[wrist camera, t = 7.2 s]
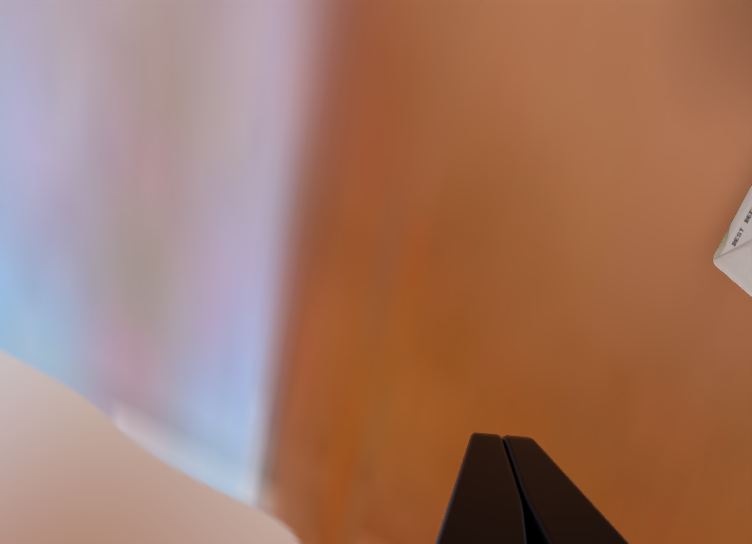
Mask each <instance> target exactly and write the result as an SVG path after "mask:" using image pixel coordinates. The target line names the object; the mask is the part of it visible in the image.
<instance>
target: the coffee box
mask: <svg viewBox="0 0 752 544" xmlns="http://www.w3.org/2000/svg"><path fill="white" fill-rule="evenodd" d="M713 258H714V264H715V265H716V266H717V267H718V268H719V269H720V270H721V271H723V272H724V273H725V274H726V275H727V276H728V277H729V278H731V279H732V280H733V281H734V282H735V283H737V284H738V285H739V286H740V287H741V288H742V289H743V290H745V291H746V292H747V293H748V294H749V295H750V296H752V186H751V188H750V190H749V191H748V193H747V195H746V197H745V199H744V201H743V203H742V204H741V206H740V208H739V210H738V212H737V214H736V216H735V217H734V219H733V221H732V223H731V225H730V227H729V229H728V230H727V232H726V234H725V236H724V238H723V239H722V241H721V243H720V245H719V246H718V248H717V250H716V252H715V254H714V257H713Z"/></svg>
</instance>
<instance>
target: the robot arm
mask: <svg viewBox="0 0 752 544" xmlns="http://www.w3.org/2000/svg"><path fill="white" fill-rule="evenodd" d="M436 544H629V543H628V542H627V541H626V540H625V539H624V537H623V536H622V535H621V534H620V533H619V532H618V531H617V530H616V529H615V528H614V527H613V525H612V524H611V523H610V522H609V521H608V520H607V519H606V518H605V517H604V516H603V515H602V513H601V512H600V511H599V510H598V509H597V508H596V507H595V506H594V505H593V504H592V503H591V501H590V500H589V499H588V498H587V497H586V496H585V495H584V494H583V493H582V492H581V491H580V489H579V488H578V487H577V486H576V485H575V484H574V483H573V482H572V481H571V480H570V479H569V477H568V476H567V475H566V474H565V473H564V472H563V471H562V470H561V469H560V468H559V467H558V465H557V464H556V463H555V462H554V461H553V460H552V459H551V458H550V457H549V456H548V455H547V453H546V452H545V451H544V450H543V449H542V448H541V447H540V446H539V445H538V444H537V443H536V442H535V441H534V440H533V439H531V438H529V437H520V436H509V435H506V436H504V437H502V438H501V437H500V436H499V435H496V434H486V433H473V434H472V435H471V437H470V440H469V443H468V446H467V449H466V452H465V455H464V458H463V461H462V464H461V467H460V470H459V473H458V477H457V480H456V483H455V486H454V489H453V492H452V495H451V498H450V501H449V504H448V507H447V510H446V513H445V516H444V519H443V522H442V525H441V528H440V531H439V534H438V537H437V540H436Z"/></svg>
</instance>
